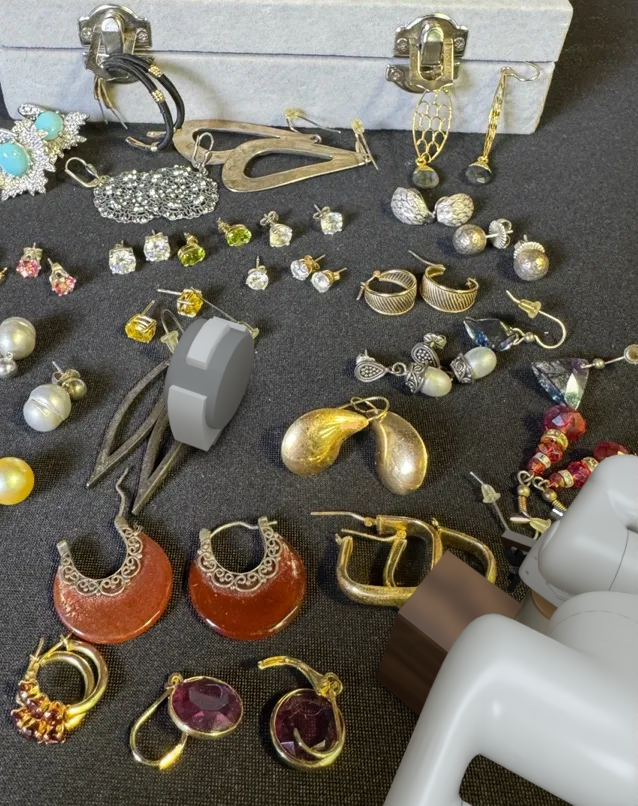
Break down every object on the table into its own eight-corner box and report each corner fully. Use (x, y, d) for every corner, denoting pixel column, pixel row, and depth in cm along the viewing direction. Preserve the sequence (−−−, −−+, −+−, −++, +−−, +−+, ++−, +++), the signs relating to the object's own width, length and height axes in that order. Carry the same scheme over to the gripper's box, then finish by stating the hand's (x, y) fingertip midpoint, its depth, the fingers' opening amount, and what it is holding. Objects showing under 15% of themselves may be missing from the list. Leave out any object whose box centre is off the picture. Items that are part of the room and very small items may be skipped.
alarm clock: (213, 368, 140) (208, 287, 125) (258, 384, 138) (258, 303, 123) (165, 449, 129) (153, 371, 114) (213, 467, 127) (208, 389, 112)
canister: (536, 681, 103) (573, 633, 91) (490, 646, 106) (521, 596, 94) (560, 641, 106) (599, 591, 94) (515, 609, 109) (548, 556, 97)
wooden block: (439, 733, 101) (475, 674, 85) (375, 678, 106) (397, 612, 89) (481, 672, 106) (523, 605, 90) (418, 622, 111) (447, 549, 94)
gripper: (504, 517, 86) (471, 585, 99) (659, 623, 79) (602, 682, 92) (539, 471, 90) (503, 543, 103) (690, 569, 83) (631, 633, 95)
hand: (550, 608), depth 97 cm, fingers open, 9 cm apart
